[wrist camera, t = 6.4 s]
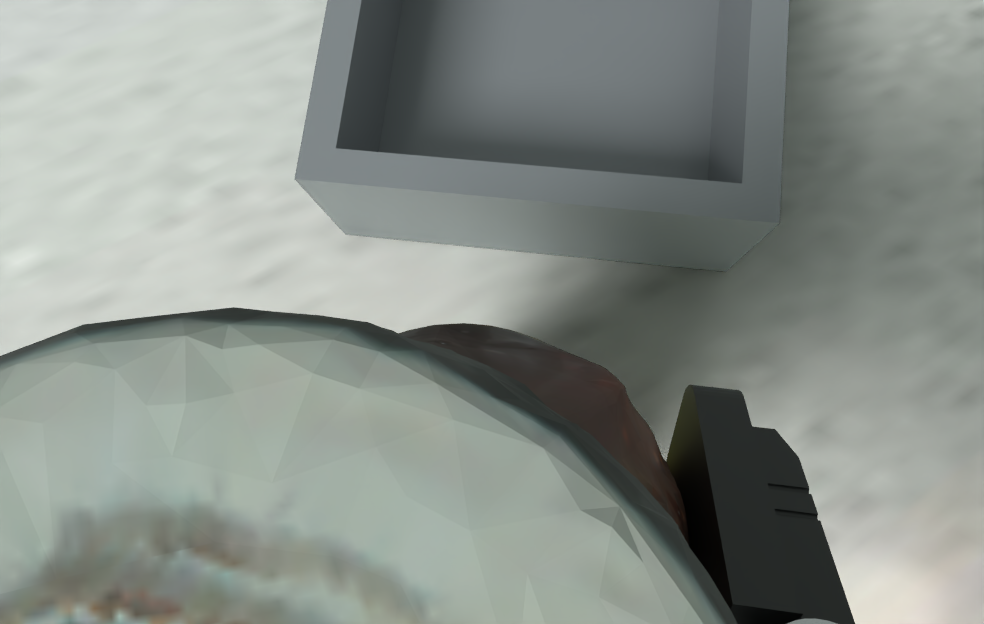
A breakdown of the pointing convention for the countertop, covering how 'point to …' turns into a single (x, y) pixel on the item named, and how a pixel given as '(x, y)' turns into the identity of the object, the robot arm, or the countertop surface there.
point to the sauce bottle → (332, 480)
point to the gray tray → (552, 125)
